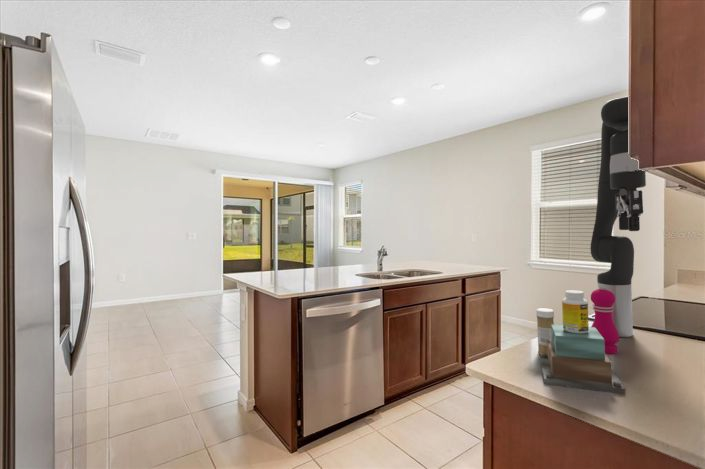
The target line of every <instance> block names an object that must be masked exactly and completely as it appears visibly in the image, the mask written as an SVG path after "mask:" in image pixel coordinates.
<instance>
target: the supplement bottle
mask: <svg viewBox="0 0 705 469" xmlns="http://www.w3.org/2000/svg"><path fill="white" fill-rule="evenodd" d="M564 293H565V297H564V298H562V300H561V306H562V309H561V310H562V325H563V329H564V330H565V331H567V332H570V333H576V334H584V333H587V332H588V330H589V327H590V326H589V302H588V299H587V298H586V299H585V291H581V290H576V289H570V290H568V289H567V290H565V292H564Z"/></svg>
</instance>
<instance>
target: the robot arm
mask: <svg viewBox="0 0 705 469" xmlns="http://www.w3.org/2000/svg"><path fill="white" fill-rule="evenodd" d="M628 96H629V95H627V96H623V97H618V98H613V99H610V100H608V101H606V102H605V103H604V104H603V106H602V108H601V110H600V117H601V120H602V124H601V133H600V134H601V140H600V141H601V143H600V145H601V146H600V147H601V148H600V150H601V151H600V167H599V176H598V184H597V185H598V186H597V198H596V199H597V200H596V201H597V202H596V212H595V220H594V225H593V231H592V236H591V241H590V255H591V257H592V259H593V260H594V261H595V262H598V263H606V264H607V263H608V264H610V269H609V270H607V271H605V272H601V273H598V275H597V279H596V280H597V289H599V285H600V284H604V285H605V286H606V290H609V291H611V292H612V293H613V294H614V296H615V303H614V304H613V305H612V306H613V307H614V308H613V310H614V311H613V312H612V320H613V323H614V325H615V327H616V329H617V331H618V334H619V338H630V337H633V335H634V334H633V332H634V330H633V327H634V326H633V323H634V322H633V298H632V296H633V295H632V294H633V293H632V292H633V291H632V288H633V287H632V280H633V276H634V269H635V268H634V265H635V264H634V261H635V248H634V244H633V241H632V240H631V239H630V237H628V236H624V235H623V236H622V235H621V236H620V235H613V229H614V225H615V223H616V220H617V218H618V229H619V230H620V231H629V232H639V231H640V227H641V226H640V217H641V215H642V214H644V206H643V205H644V203H643V190H642V189H641V188H645V187H646V186H647V179H646V178H647V176H646V170H645V171H642V170H639V169H638V161H637V160H634V159H631V158H630V157H629V154H628ZM639 188H640V189H641V190H637V189H639Z"/></svg>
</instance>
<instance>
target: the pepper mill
mask: <svg viewBox="0 0 705 469" xmlns="http://www.w3.org/2000/svg"><path fill="white" fill-rule="evenodd" d="M590 300H591V302H592V303H593V305H592V310H593V311H594V320H593V321H592V324H591V326H590V327H595V328H596V329H597V331H598V332H599V333H600V334H601V336H602V337H603V338H604V341H605V354H606V355H615V354H617V353H618V346H617V343H618V342H619V341H620V337H619V334H618V331H617V329H616V327H615V325H614V323H613V320H612V312H613V311H614V310H613V308H614V307H613V306H612V305H613V304H614V303H615V296H614V294H613V293H612V292H611V291H609V290H606V286H605V285H604V284H600V285H599V289H598V288H597V289H595V290H593V291H592V292H591V293H590Z"/></svg>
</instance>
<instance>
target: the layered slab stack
mask: <svg viewBox="0 0 705 469" xmlns="http://www.w3.org/2000/svg"><path fill="white" fill-rule="evenodd" d="M551 328H552V341H548V356H547V355H546V354H542V355H540V354H539V363H540V368H541V372H542V378H543V382H544V384H545V385H552V386H553V385H554V386H560V387H561V386H562V387H569V388H576V389H585V390H593V391H599V392H606V393H614V394H621V395H625V394H626V388H625V386H624V385H623V383H622V382H621V381H620V379H619V377H618V375H617V373H615V371H614V370H613V368H612V361H611V360H610V358H609V357H608V355H607V354H605V341H604V338H603V337H602V336H601V334H600V333H599V332H598V331H597V329H596V328H595V327H591V326H589V330H588V332H587V333H584V334H576V333H570V332H567V331H565V330H564V329H563V324H554V325H552V324H551Z"/></svg>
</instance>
